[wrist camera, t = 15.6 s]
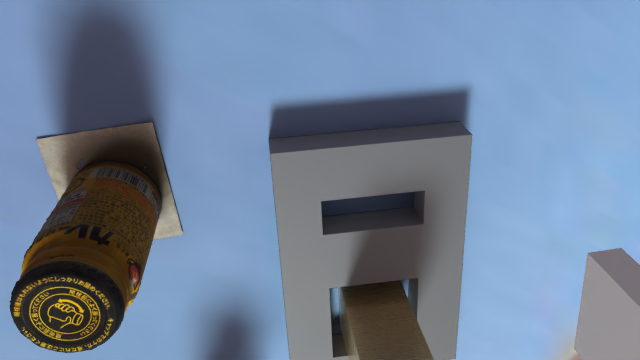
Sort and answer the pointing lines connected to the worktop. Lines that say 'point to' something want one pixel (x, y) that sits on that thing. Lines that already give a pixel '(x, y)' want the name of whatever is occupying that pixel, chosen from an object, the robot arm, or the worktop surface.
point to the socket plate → (371, 227)
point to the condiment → (93, 236)
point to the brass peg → (380, 323)
